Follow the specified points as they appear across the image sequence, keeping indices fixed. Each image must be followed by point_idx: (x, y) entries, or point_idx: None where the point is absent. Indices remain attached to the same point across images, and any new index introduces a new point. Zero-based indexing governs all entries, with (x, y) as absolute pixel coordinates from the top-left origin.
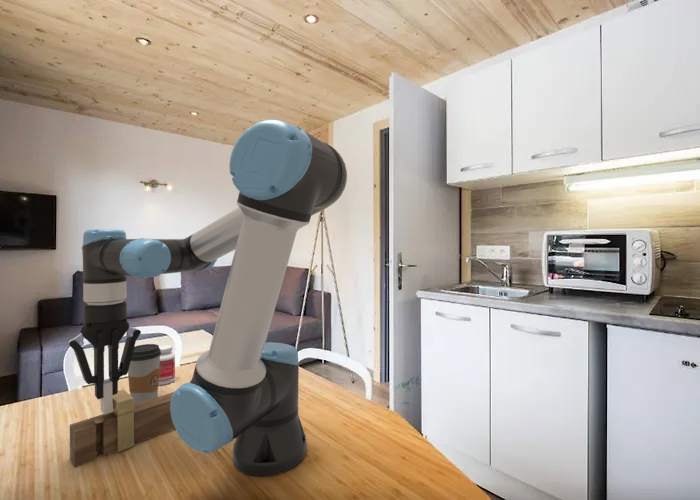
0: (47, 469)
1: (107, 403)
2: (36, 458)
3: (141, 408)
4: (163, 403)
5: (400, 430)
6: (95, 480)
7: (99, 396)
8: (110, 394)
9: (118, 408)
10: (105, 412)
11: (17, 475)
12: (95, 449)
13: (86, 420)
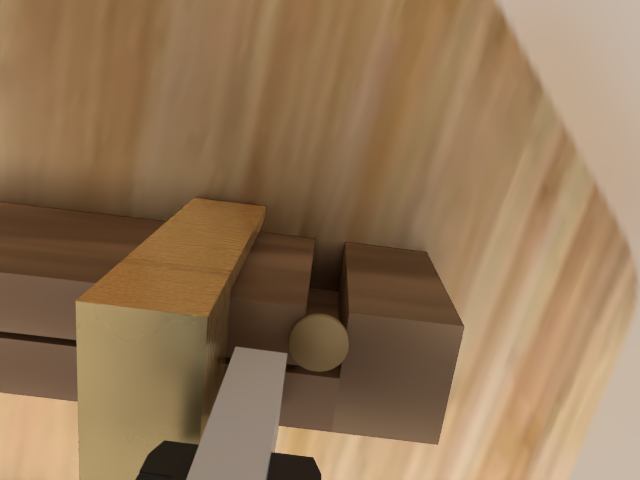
0: (494, 330)
1: (256, 394)
2: (484, 446)
3: (62, 305)
4: None
5: None
6: (418, 64)
7: (298, 474)
8: (218, 439)
9: (212, 293)
10: (278, 359)
11: (572, 379)
12: (348, 259)
13: (357, 421)
